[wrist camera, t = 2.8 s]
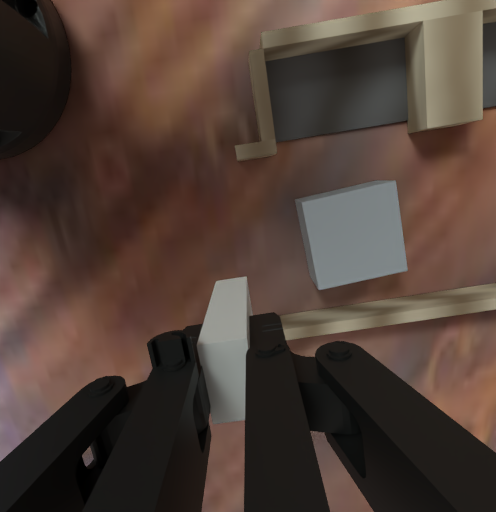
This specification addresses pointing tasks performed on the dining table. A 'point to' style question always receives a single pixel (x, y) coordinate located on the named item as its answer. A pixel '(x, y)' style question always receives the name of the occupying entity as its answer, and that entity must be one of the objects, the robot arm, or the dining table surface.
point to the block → (352, 233)
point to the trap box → (377, 111)
